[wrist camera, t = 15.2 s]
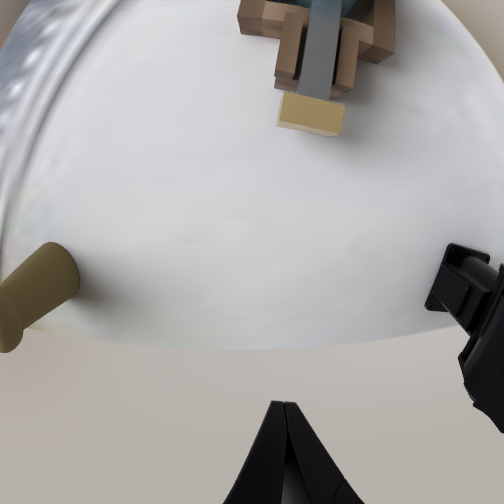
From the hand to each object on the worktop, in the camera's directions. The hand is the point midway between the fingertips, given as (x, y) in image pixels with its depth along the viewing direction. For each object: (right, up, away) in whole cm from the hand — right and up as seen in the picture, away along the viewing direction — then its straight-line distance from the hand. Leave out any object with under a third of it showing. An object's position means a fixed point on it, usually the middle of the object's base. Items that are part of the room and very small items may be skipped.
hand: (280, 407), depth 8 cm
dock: (+4, +22, +5) cm, 23 cm away
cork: (-20, +3, +14) cm, 24 cm away
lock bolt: (+3, +16, +5) cm, 17 cm away
